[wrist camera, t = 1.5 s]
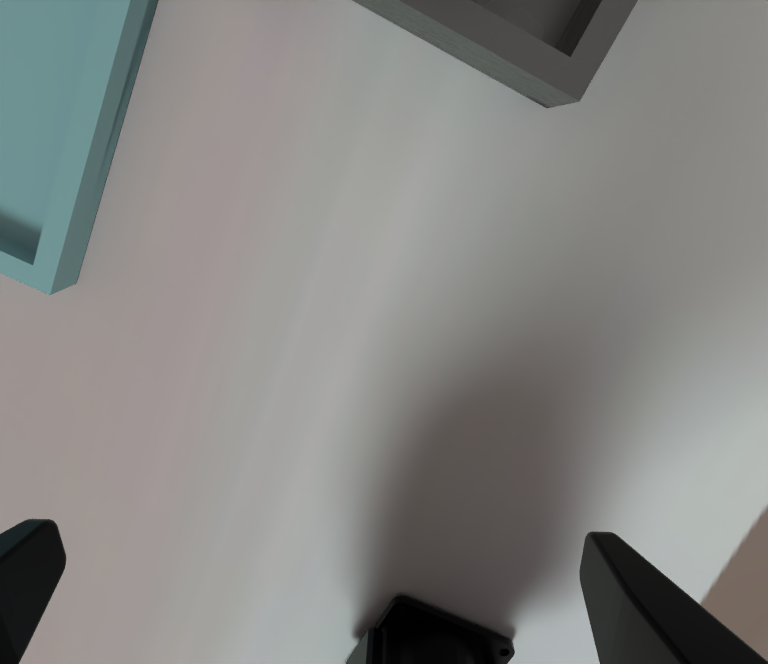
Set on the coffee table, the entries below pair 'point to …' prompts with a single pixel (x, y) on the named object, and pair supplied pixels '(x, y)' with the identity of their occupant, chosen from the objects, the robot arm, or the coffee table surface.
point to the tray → (61, 126)
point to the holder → (518, 38)
